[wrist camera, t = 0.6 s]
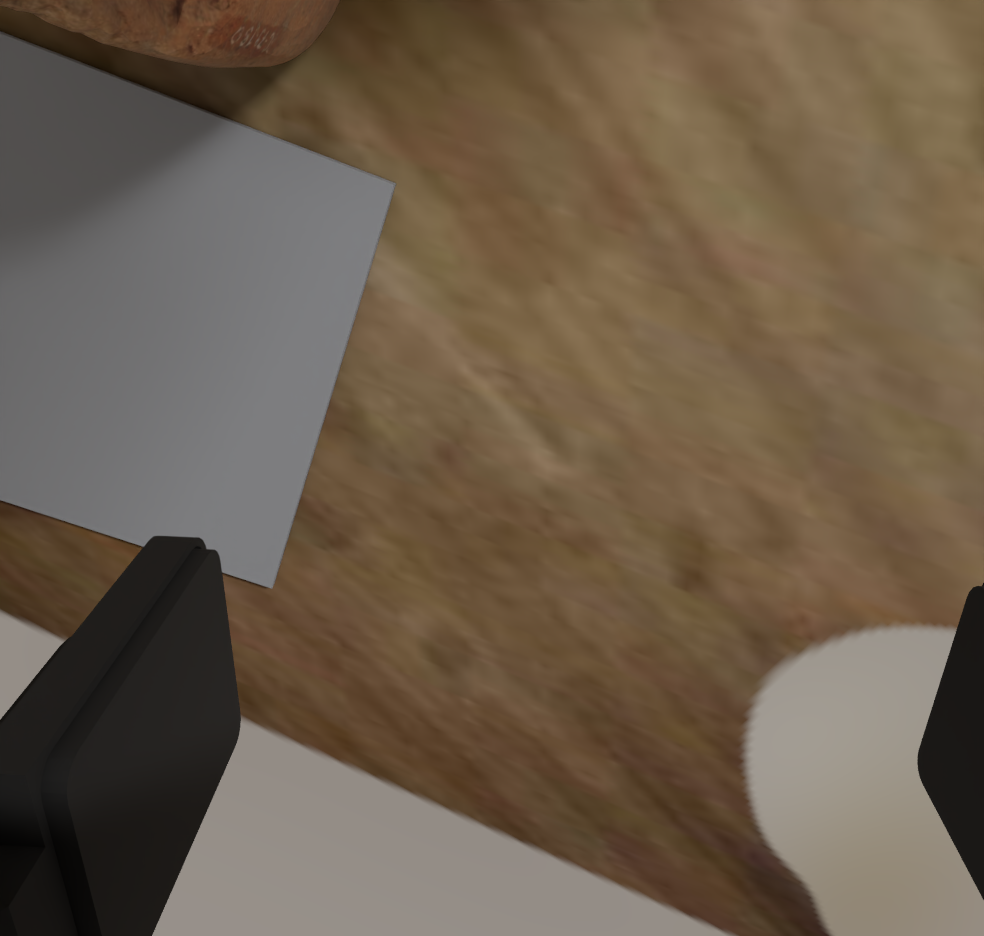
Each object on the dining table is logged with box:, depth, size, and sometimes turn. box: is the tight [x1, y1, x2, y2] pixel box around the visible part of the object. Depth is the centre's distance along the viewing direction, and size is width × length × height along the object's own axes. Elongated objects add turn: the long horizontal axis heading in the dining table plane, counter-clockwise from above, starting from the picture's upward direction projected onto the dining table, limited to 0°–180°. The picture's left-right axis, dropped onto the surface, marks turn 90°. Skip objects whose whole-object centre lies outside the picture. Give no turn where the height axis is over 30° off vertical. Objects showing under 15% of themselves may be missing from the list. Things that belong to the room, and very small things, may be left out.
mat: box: [0, 31, 396, 588], centre depth 41 cm, size 22×18×1 cm
